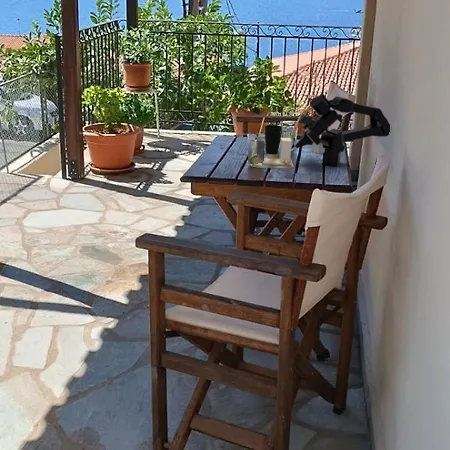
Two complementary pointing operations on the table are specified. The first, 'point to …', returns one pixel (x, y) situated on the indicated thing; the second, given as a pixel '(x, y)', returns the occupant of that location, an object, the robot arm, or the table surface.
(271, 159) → the frame
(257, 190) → the table surface
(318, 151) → the skincare box
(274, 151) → the cup
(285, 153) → the gauge slider
